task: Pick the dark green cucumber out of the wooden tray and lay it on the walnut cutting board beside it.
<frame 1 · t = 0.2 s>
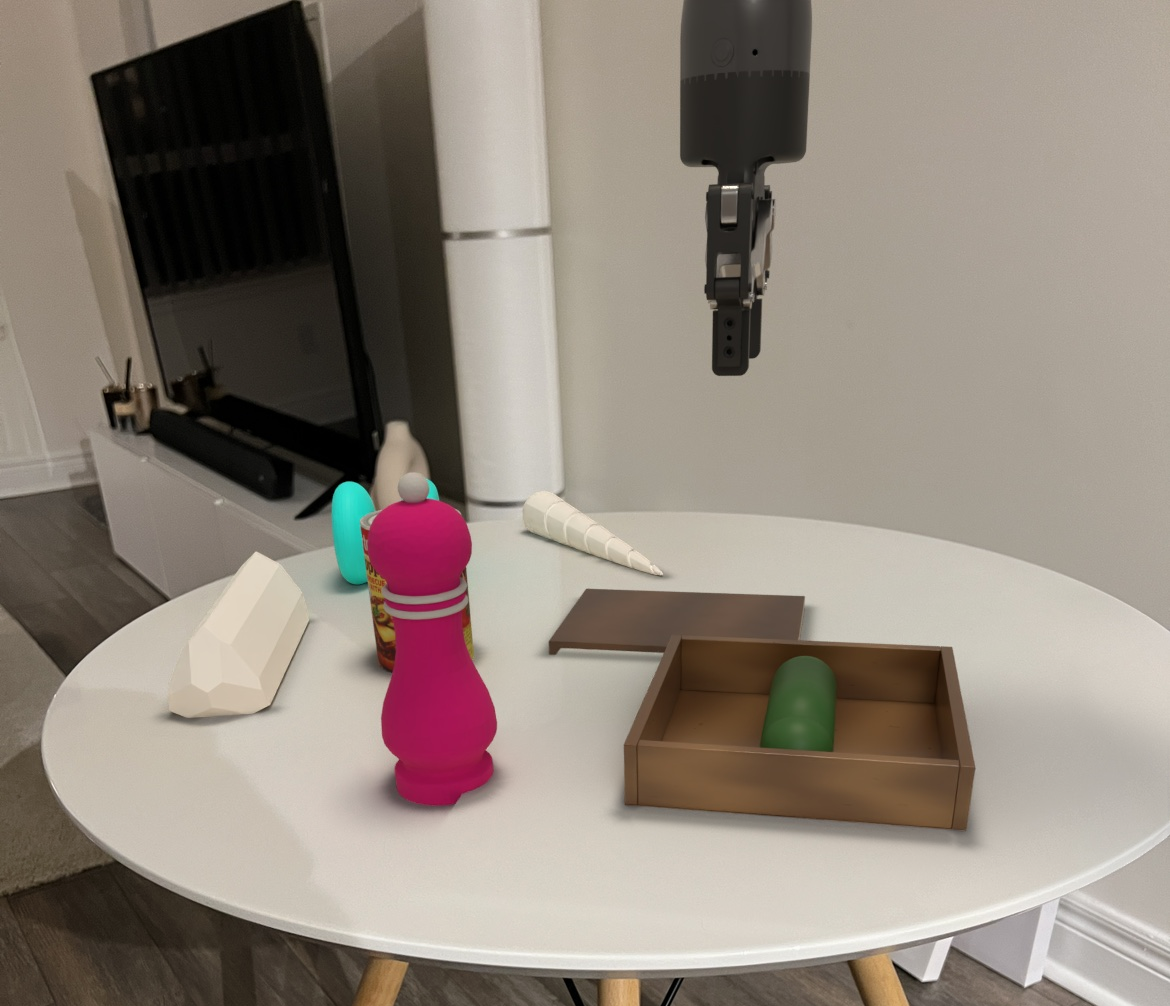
hand: (737, 366, 72), 23 cm above the table, tool pointing down, fingers open, 8 cm apart
pepper mill: (446, 789, 71), on the table
donuts: (395, 582, 111), on the table
canned food: (426, 663, 91), on the table
cucumber: (798, 747, 72), point 1 cm above the table, touching wooden tray
crystal: (248, 670, 91), on the table
unicorn horn: (593, 553, 118), on the table
wooden tray: (797, 761, 72), on the table
cutting board: (682, 634, 94), on the table
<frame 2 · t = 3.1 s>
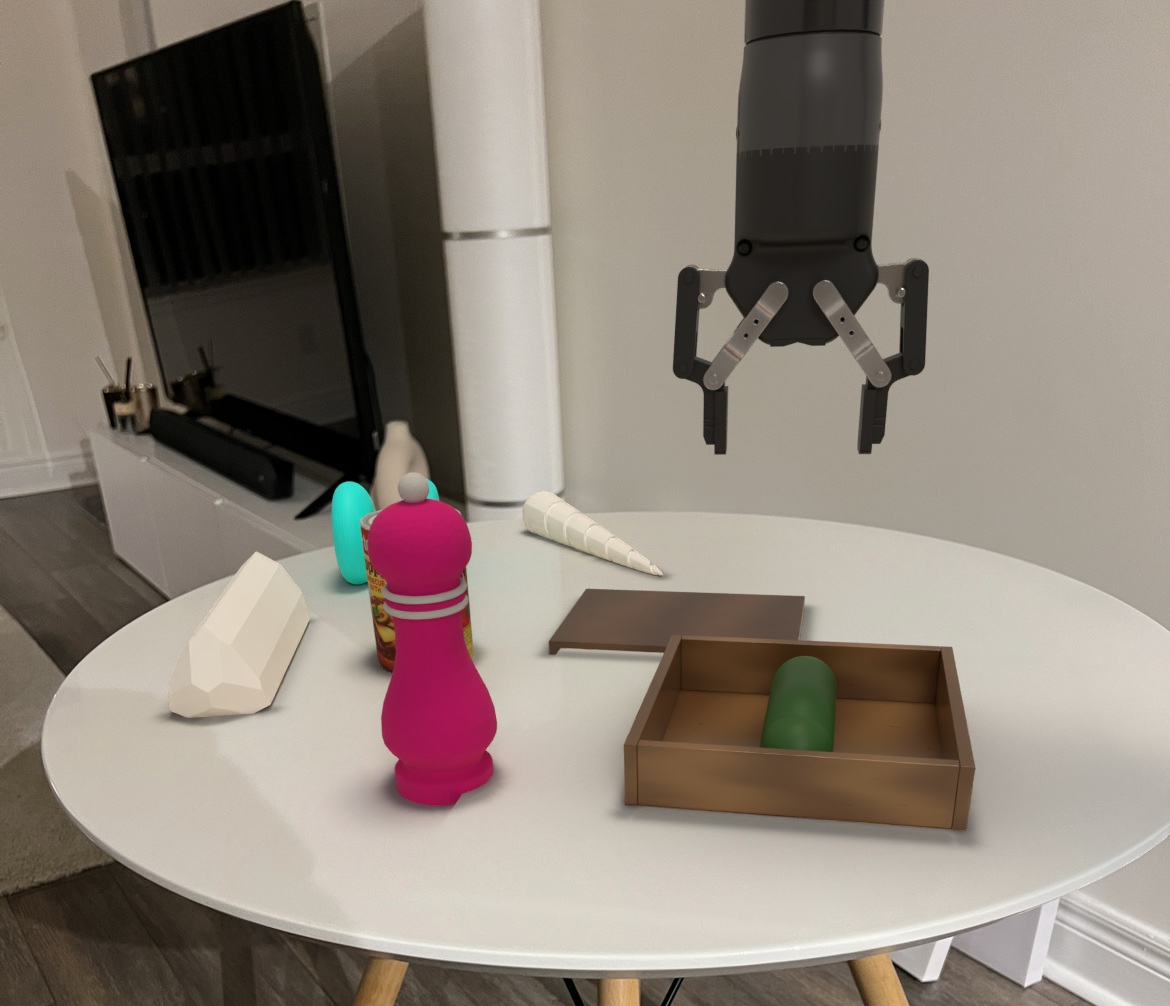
hand: (792, 452, 66), 19 cm above the table, tool pointing down, fingers open, 8 cm apart
nothing on the table moved.
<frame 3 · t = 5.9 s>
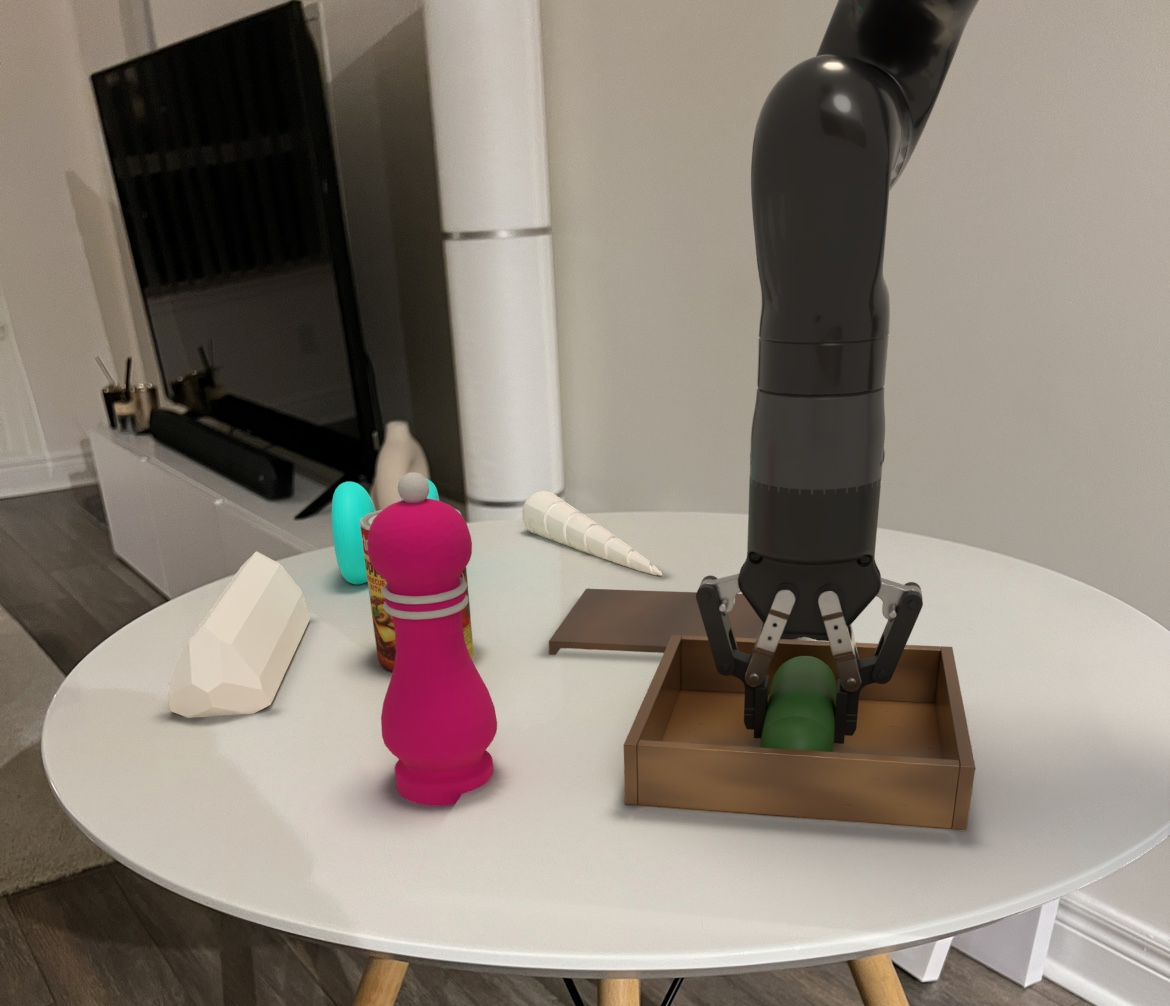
hand: (799, 735, 71), 2 cm above the table, tool pointing down, fingers closed on cucumber, 4 cm apart
cucumber: (798, 747, 72), point 1 cm above the table, touching wooden tray, gripper
everything else where it was.
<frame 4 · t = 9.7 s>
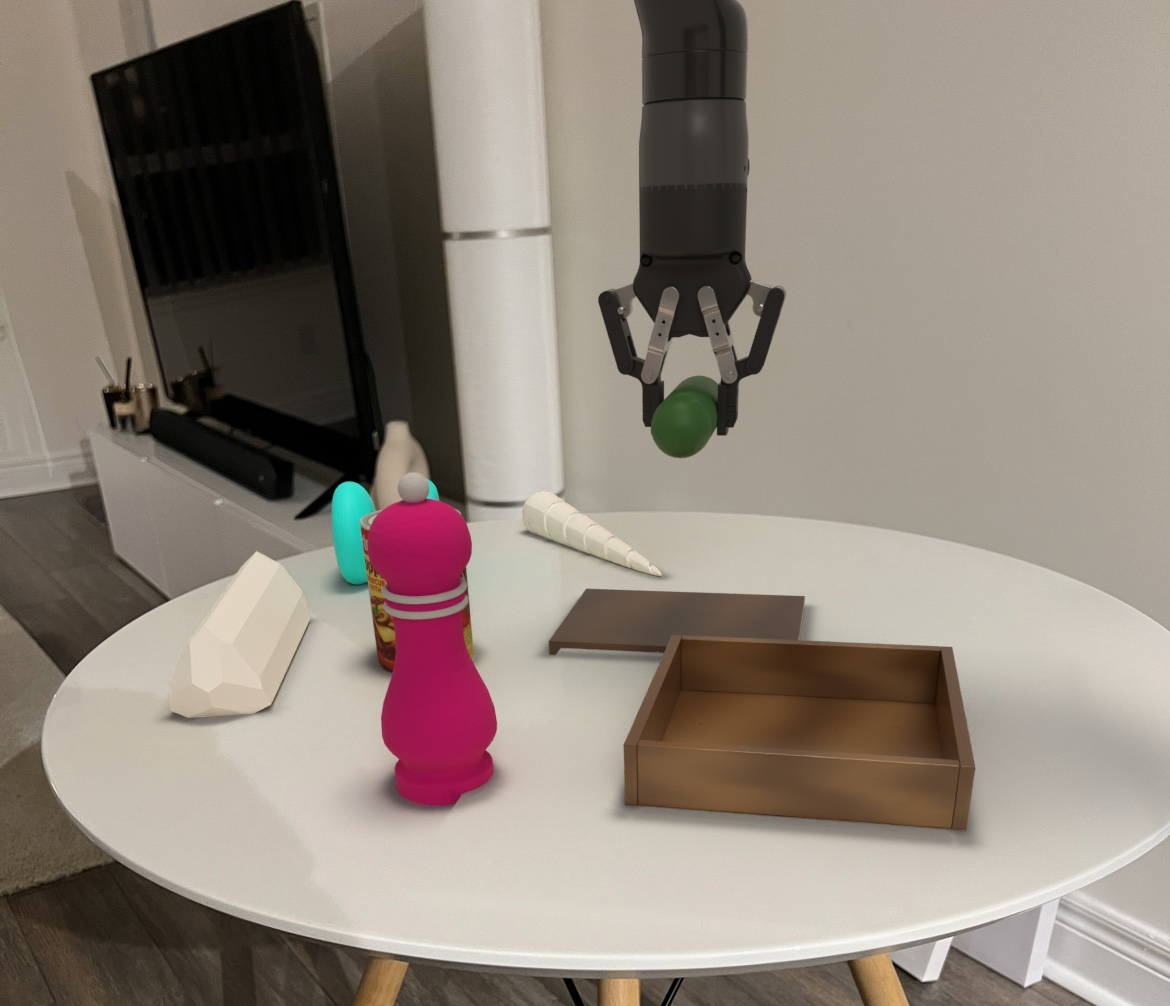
hand: (690, 432, 84), 17 cm above the table, tool pointing down, fingers closed on cucumber, 4 cm apart
cucumber: (689, 444, 85), point 16 cm above the table, touching gripper
everything else where it was.
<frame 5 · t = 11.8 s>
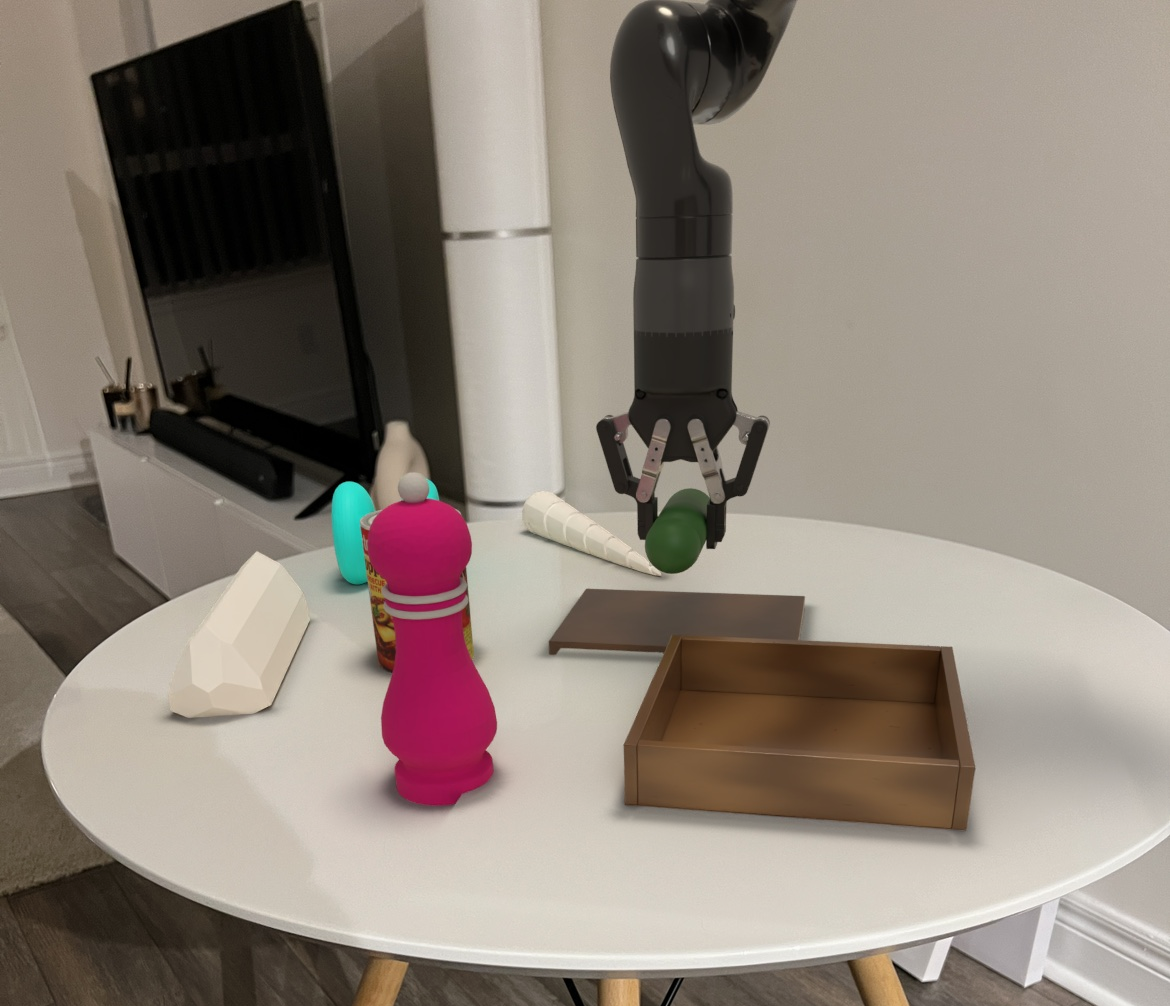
hand: (681, 544, 91), 8 cm above the table, tool pointing down, fingers closed on cucumber, 4 cm apart
cucumber: (681, 555, 91), point 7 cm above the table, touching gripper
everything else where it was.
when the fingers open (2 cm above the table, at t = 13.5 s): cucumber stays where it is, resting on cutting board.
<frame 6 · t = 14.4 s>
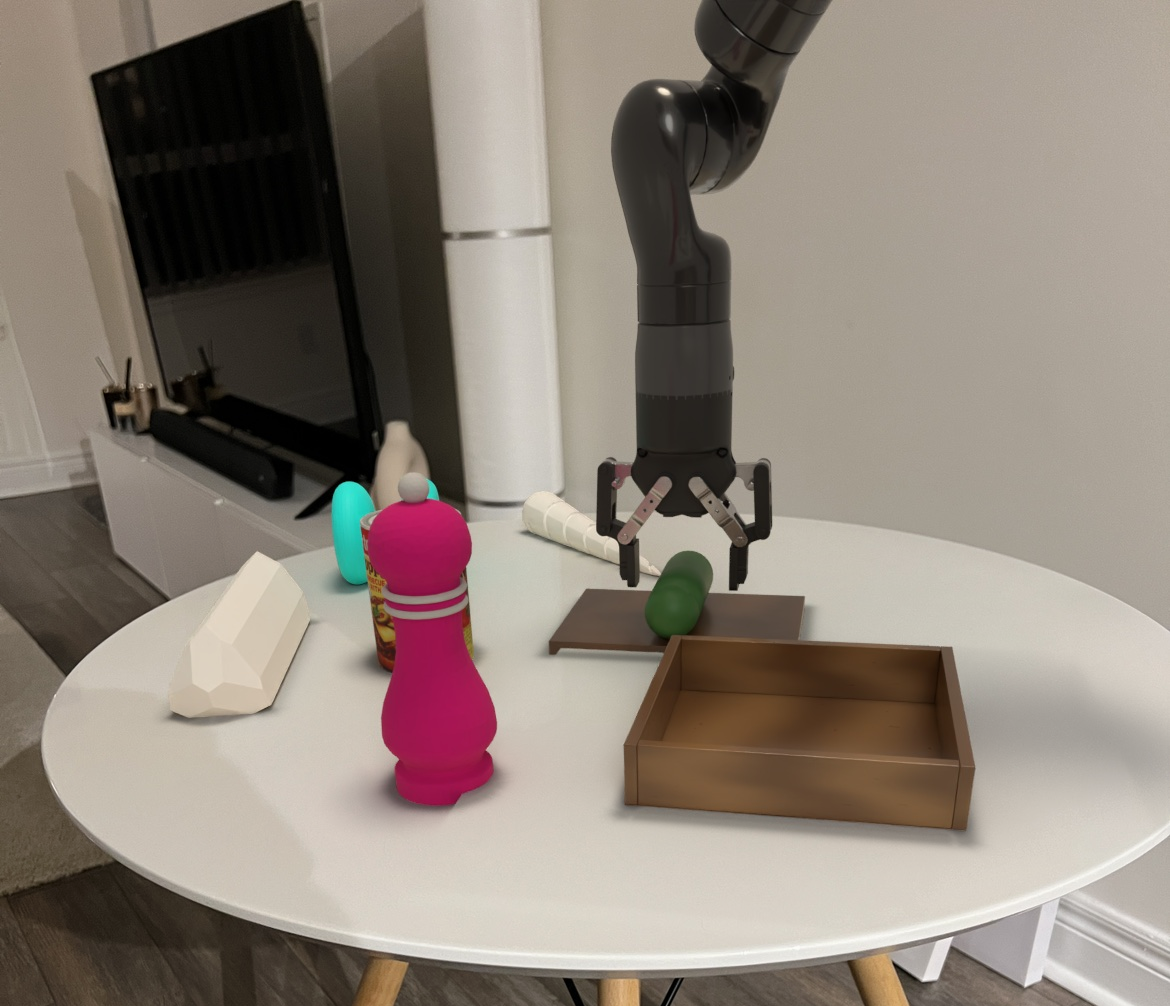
hand: (683, 586, 93), 4 cm above the table, tool pointing down, fingers open, 8 cm apart
cucumber: (681, 617, 94), point 2 cm above the table, touching cutting board
everything else where it was.
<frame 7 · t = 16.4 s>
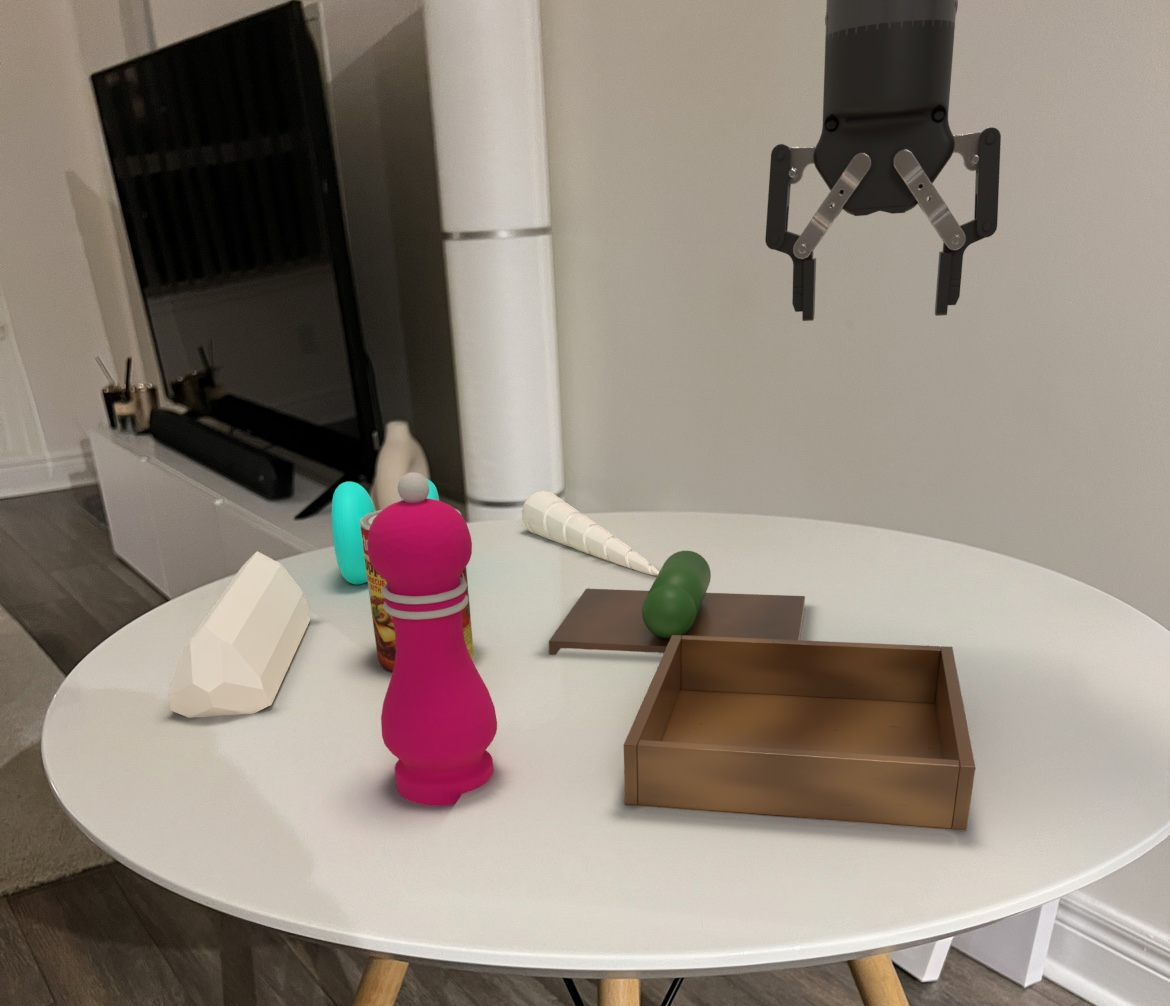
hand: (874, 317, 73), 26 cm above the table, tool pointing down, fingers open, 8 cm apart
cucumber: (681, 617, 94), point 2 cm above the table, tilted 8°, touching cutting board
everything else where it was.
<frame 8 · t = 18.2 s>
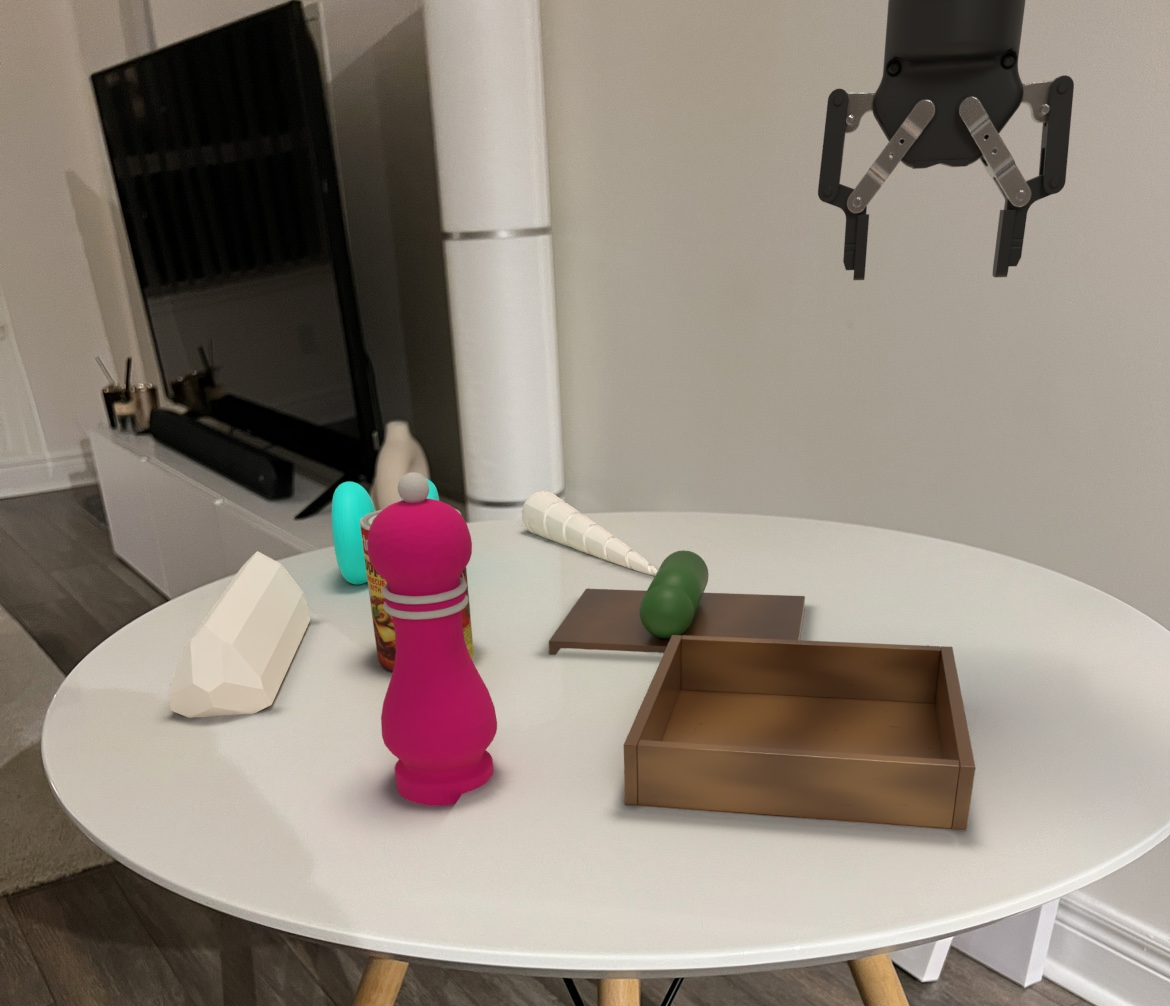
hand: (928, 278, 69), 28 cm above the table, tool pointing down, fingers open, 8 cm apart
cucumber: (681, 617, 94), point 2 cm above the table, tilted 13°, touching cutting board
everything else where it was.
at the end: cucumber inside the target area on the cutting board (0.1 cm from its centre), point 1.6 cm above the cutting board's base; cucumber touching cutting board; the gripper is holding nothing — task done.
